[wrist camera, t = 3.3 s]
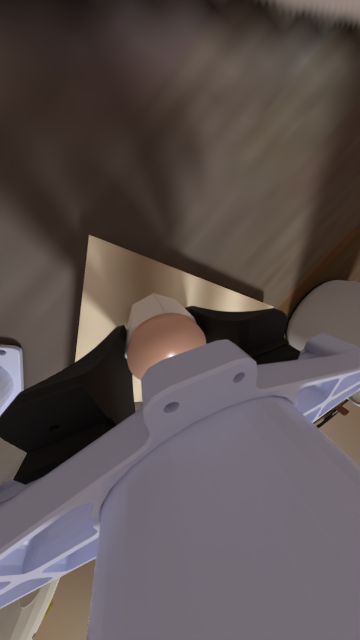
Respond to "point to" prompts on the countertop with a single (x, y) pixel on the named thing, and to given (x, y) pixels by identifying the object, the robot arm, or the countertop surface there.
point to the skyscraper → (357, 395)
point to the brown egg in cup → (159, 332)
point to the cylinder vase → (327, 314)
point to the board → (140, 293)
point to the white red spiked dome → (26, 613)
